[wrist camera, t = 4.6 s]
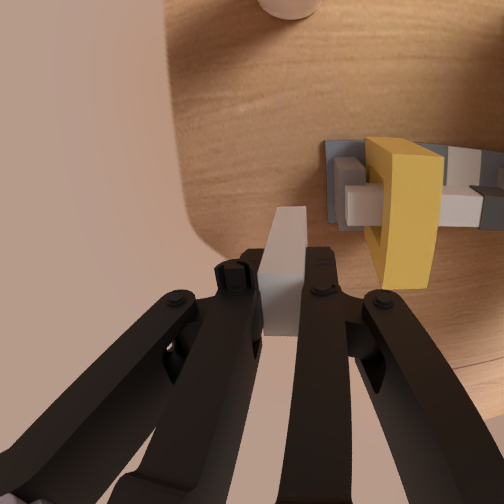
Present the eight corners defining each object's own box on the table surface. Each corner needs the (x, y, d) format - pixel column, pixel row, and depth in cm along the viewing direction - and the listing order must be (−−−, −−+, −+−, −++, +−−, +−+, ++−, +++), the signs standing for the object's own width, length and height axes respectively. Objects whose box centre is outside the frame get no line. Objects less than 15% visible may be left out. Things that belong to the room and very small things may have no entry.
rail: (324, 139, 23) (330, 153, 16) (512, 154, 19) (558, 175, 12) (327, 219, 26) (331, 260, 20) (503, 222, 22) (541, 256, 16)
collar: (365, 136, 20) (392, 153, 13) (402, 138, 20) (444, 157, 13) (363, 234, 24) (382, 289, 17) (397, 234, 23) (426, 288, 16)
